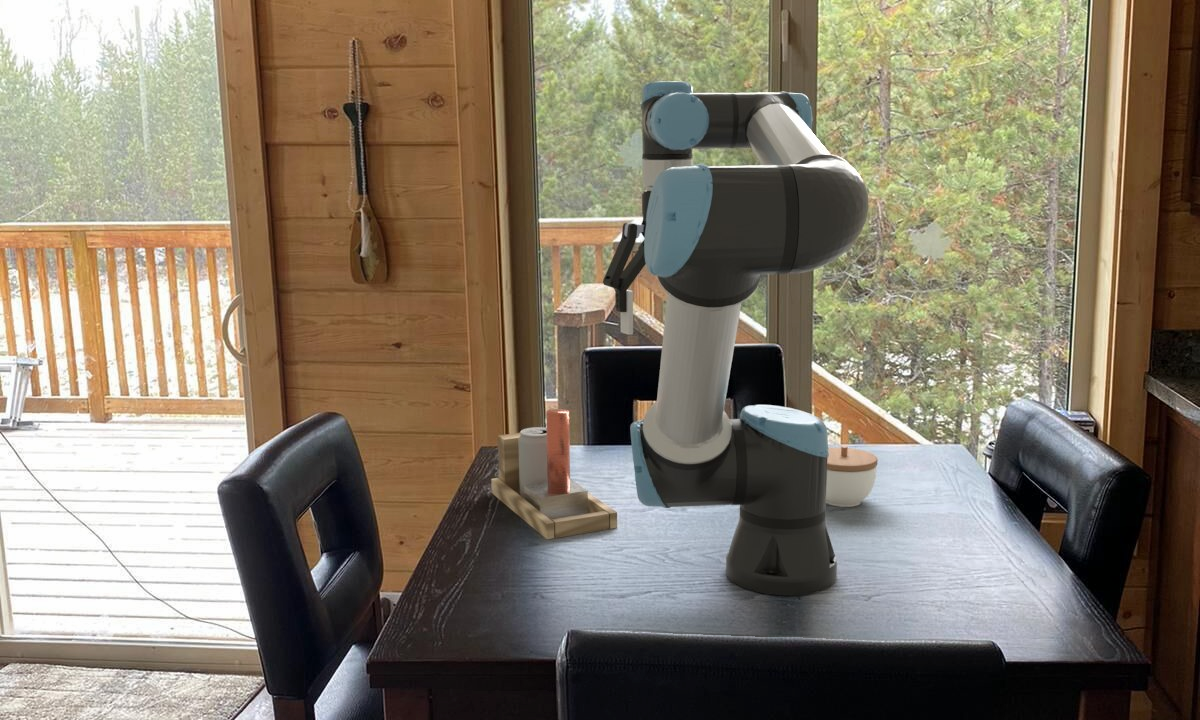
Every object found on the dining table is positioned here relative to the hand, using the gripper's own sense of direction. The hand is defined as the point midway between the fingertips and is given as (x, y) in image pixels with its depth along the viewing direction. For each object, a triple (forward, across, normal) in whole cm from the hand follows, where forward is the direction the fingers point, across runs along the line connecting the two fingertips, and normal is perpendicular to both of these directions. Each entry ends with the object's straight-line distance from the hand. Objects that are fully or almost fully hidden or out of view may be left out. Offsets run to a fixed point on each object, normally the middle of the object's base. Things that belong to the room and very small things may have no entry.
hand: (666, 329), depth 170 cm
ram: (+30, +14, -12) cm, 36 cm away
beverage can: (+31, +14, -19) cm, 39 cm away
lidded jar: (+31, -31, +4) cm, 44 cm away
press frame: (+31, +14, -14) cm, 36 cm away
